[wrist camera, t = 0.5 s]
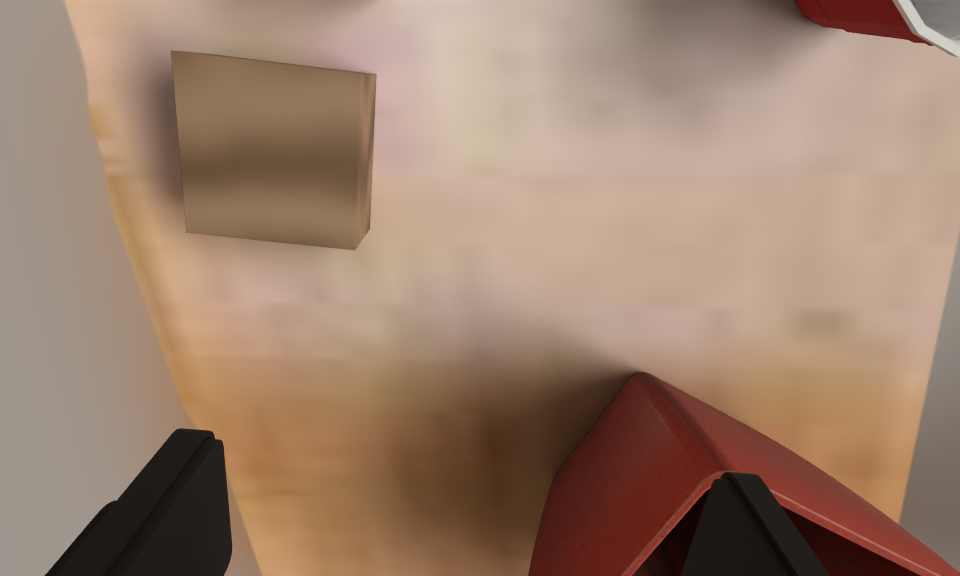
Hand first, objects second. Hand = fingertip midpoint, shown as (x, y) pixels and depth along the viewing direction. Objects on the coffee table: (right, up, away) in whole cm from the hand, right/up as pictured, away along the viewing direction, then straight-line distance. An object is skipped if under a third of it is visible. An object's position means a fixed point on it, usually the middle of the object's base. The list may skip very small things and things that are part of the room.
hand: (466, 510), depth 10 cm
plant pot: (+15, -10, +35) cm, 39 cm away
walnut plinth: (-12, +13, +25) cm, 31 cm away
